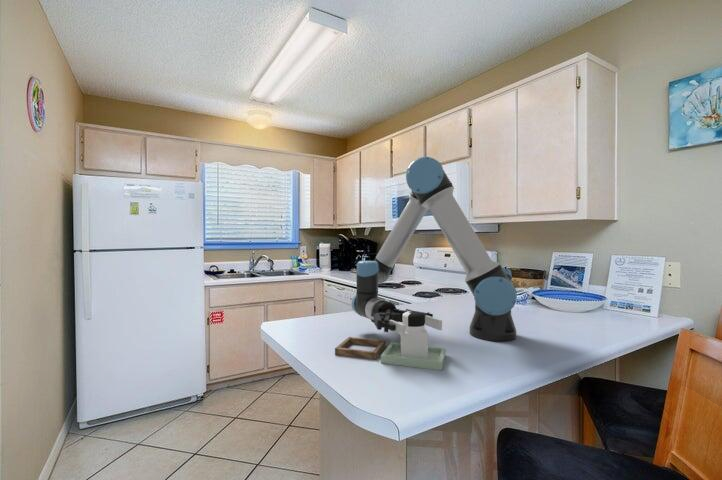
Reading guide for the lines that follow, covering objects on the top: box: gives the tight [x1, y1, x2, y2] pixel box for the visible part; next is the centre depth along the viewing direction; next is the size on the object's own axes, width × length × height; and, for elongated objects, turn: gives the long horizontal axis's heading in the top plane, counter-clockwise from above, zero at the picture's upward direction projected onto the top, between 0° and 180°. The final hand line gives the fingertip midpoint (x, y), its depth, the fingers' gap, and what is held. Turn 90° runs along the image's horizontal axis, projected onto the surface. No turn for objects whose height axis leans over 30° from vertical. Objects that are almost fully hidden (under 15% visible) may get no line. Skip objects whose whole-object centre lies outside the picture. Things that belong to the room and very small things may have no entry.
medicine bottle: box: [400, 310, 429, 359], centre depth 96 cm, size 7×7×12 cm
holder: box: [334, 336, 387, 360], centre depth 103 cm, size 12×12×2 cm
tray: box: [380, 341, 447, 371], centre depth 96 cm, size 16×12×2 cm
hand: (423, 327), depth 93 cm, fingers open, 11 cm apart
